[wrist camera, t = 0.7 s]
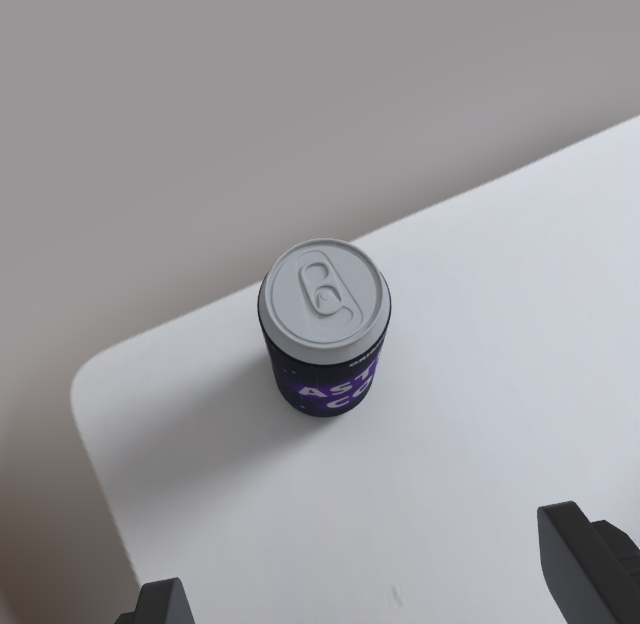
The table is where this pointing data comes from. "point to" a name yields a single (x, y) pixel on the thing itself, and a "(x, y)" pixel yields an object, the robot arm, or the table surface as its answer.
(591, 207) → the table surface
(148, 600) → the robot arm
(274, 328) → the beverage can
